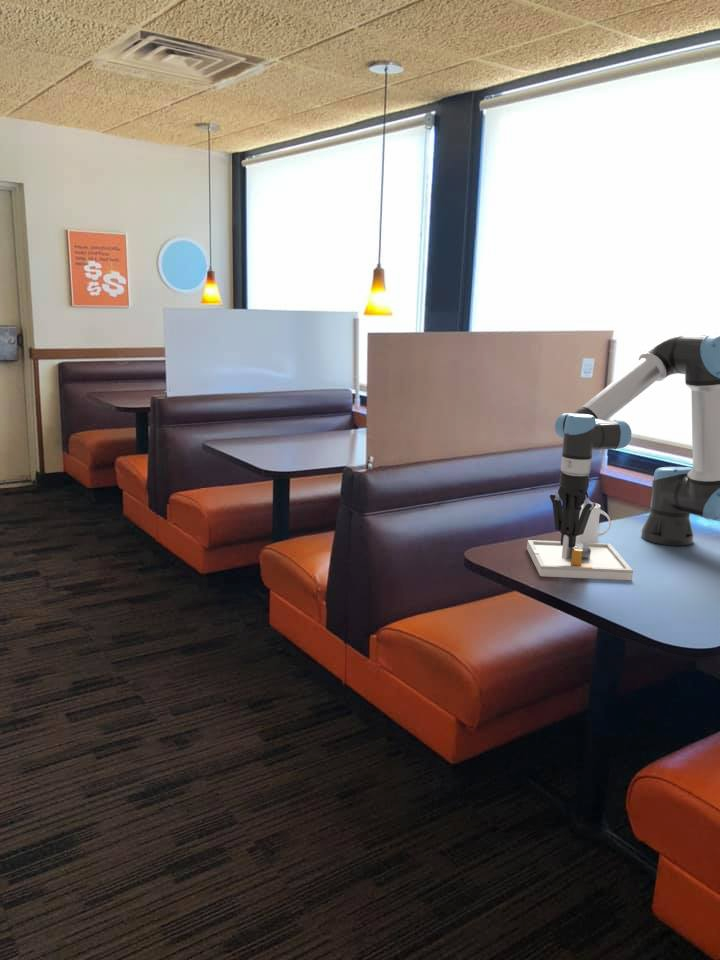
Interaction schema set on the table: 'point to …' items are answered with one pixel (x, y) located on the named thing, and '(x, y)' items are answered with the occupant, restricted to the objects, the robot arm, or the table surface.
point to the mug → (592, 526)
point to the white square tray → (598, 566)
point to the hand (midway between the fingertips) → (566, 557)
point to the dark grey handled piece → (579, 554)
